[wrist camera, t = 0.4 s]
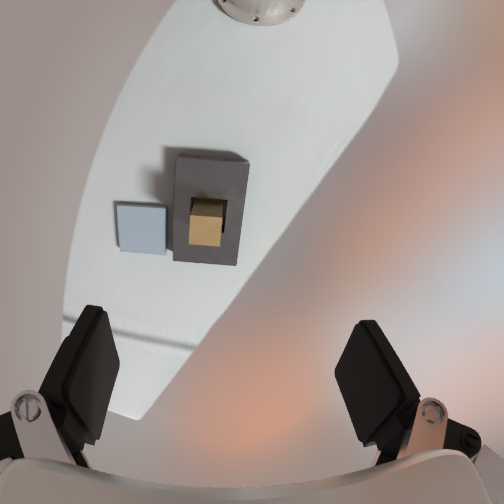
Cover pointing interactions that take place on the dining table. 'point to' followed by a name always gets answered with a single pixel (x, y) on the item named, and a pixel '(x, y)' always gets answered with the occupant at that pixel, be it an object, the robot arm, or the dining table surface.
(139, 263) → the dining table surface
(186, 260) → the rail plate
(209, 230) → the brass block
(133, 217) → the mat
